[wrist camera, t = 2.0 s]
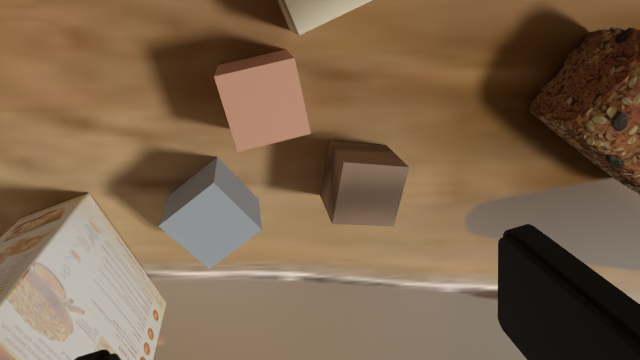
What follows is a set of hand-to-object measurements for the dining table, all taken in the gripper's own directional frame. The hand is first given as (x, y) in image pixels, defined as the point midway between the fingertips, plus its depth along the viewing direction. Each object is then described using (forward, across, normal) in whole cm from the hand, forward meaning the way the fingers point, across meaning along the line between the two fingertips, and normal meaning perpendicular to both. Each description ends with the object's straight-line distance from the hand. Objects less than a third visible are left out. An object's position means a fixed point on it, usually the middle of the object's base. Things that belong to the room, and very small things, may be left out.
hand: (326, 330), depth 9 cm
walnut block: (+29, -7, +10) cm, 31 cm away
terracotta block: (+29, 0, 0) cm, 29 cm away
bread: (+29, -36, +11) cm, 47 cm away
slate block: (+29, +7, +9) cm, 31 cm away
